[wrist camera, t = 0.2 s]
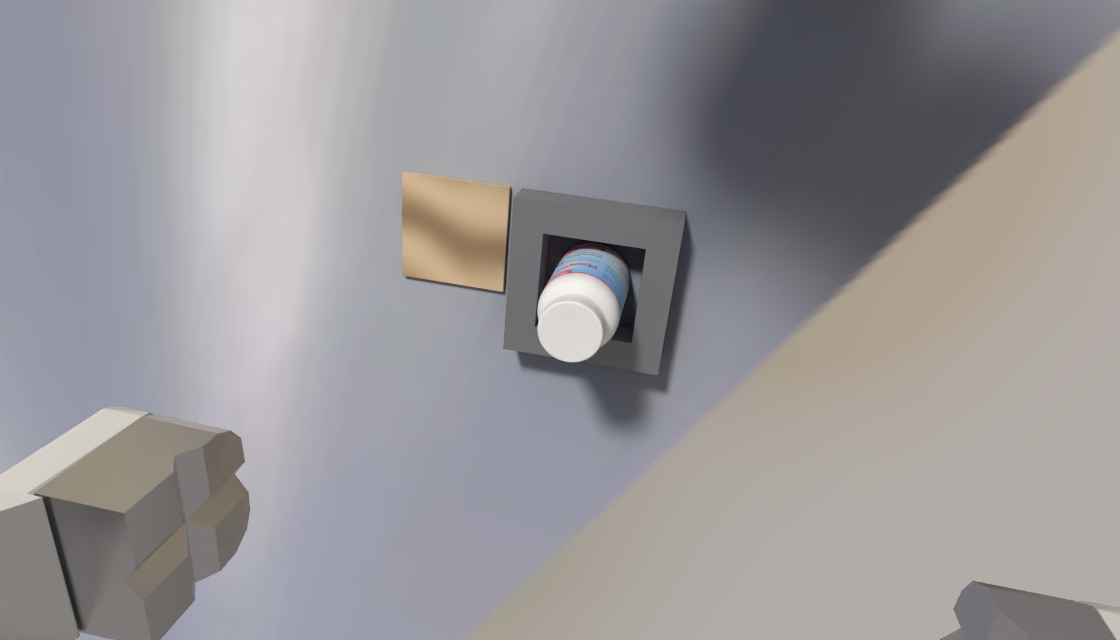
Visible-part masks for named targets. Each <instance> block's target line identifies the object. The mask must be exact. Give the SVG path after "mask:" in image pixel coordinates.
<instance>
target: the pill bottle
mask: <svg viewBox="0 0 1120 640" xmlns="http://www.w3.org/2000/svg"><path fill="white" fill-rule="evenodd" d="M629 285H630V275H629V271H628V268H627V266H626V264H625V262H624V261H623V259H622V258H621V257H620V256H619V255H618V254H617V253H616V252H615V251H614V250H612V249H611V248H609V247H607V246H605V245H602V244H598V243H585V244H581V245H578V246H576V247H574V248H572V249H571V250H569V251H568V252H567V253H566V254H565V255H564V256H563V258H562V259H561V261H560V262H559V264H558V266H557V268H556V269H555V271H554V273H553V274H552V276H551V278H550V280H549V281H548V283H547V285H546V287H545V288H544V290H543V292H542V294H541V296H540V299H539V302H538V309H537V313H538V320H539V322H538V337H539V340H540V343H541V344H542V346H543V348H544V349H545V350H546V351H547V352H548V353H549V354H550V355H552V356H553V357H555V358H556V359H559V360H561V361H565V362H580V361H584V360H586V359H588V358H590V357H591V356H593V355H594V354H595V353H596V352H597V351H598V349H599V348H600V347H602V346H603V345H604V344H606V343H607V342H608V341H609V340H610V339H611V338H612V336H613V335H614V333H615V331H616V329H617V327H618V324H619V320H620V317H621V314H622V310H623V307H624V303H625V300H626V297H627V293H628V290H629Z"/></svg>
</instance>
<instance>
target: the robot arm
mask: <svg viewBox="0 0 1120 640" xmlns="http://www.w3.org/2000/svg"><path fill="white" fill-rule="evenodd" d="M244 462H245V460H244V454H243V448H242V441H241V438H240V437H239V436H237V435H236V434H235V433H233V432H232V431H230V430H226V429H221V428H217V427H212V426H208V425H204V424H199V423H195V422H190V421H186V420H182V419H177V418H173V417H168V416H164V415H160V414H152V413H148V412H144V411H139V410H135V409H130V408H126V407H121V406H119V407H111V408H103V409H102V410H100V411H99V412H97V413H96V414H94V415H93V416H91V417H89V418H88V419H86V420H85V421H83V422H82V423H80V424H79V425H77V426H75V427H74V428H72V429H71V430H69V431H68V432H66V433H65V434H63V435H61V436H60V437H58V438H57V439H55V440H54V441H52V442H51V443H49V444H47V445H46V446H44V447H43V448H41V449H40V450H38V451H37V452H35V453H33V454H32V455H30V456H29V457H27V458H26V459H24V460H23V461H21V462H19V463H18V464H16V465H15V466H13V467H12V468H10V469H9V470H7V471H5V472H4V473H2V474H1V475H0V640H75V639H76V638H78V637H79V636H80V634H79V632H82V633H86V634H91V635H96V636H100V637H105V638H109V639H114V640H160V639H161V638H162V637H163V636H164V635H165V634H166V632H167V631H168V630H169V629H170V628H171V627H172V626H173V624H174V623H175V622H176V621H177V620H178V619H179V618H180V617H181V615H182V614H183V613H184V612H185V611H186V610H187V609H188V607H189V606H190V605H191V604H192V603H193V602H194V601H195V582H198V581H200V580H202V579H204V578H206V577H208V576H210V575H213V574H215V573H217V572H219V571H221V570H222V568H223V567H224V566H225V565H226V564H227V562H228V561H229V560H230V559H231V558H232V556H233V555H234V554H235V553H236V551H237V549H238V547H239V545H240V543H241V540H242V538H243V536H244V534H245V532H246V530H247V525H248V519H249V512H250V504H249V494H248V491H247V490H246V488H245V487H244V486H243V484H242V483H241V482H240V480H239V479H238V478H237V477H236V475H235V473H236V472H237V471H238V469H239V468H240V467H241V466H242V464H243V463H244ZM954 611H955V614H956V616H957V618H958V621H959V623H960V626H961V628H960V629H959V630H957V631H955V632H953V633H951V634H949V635H947V636H946V637H944V638H942V639H940V640H1120V608H1118V607H1113V606H1107V605H1102V604H1096V603H1091V602H1085V601H1080V602H1076V601H1072V600H1067V599H1062V598H1056V597H1052V596H1047V595H1042V594H1037V593H1031V592H1027V591H1021V590H1016V589H1011V588H1006V587H1001V586H996V585H991V584H986V583H981V582H976V581H972V582H971V583H970V584H969V585H968V586H967V587H966V588H964V589H963V590H962V592H961V594H960V596H959V598H958V600H957V602H956V605H955V607H954Z"/></svg>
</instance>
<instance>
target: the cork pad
mask: <svg viewBox="0 0 1120 640" xmlns="http://www.w3.org/2000/svg"><path fill="white" fill-rule="evenodd" d="M510 192H511V187H509V186H502V185H495V184H488V183H481V182H474V181H467V180H460V179H453V178H446V177H439V176H432V175H425V174H418V173H411V172H403V276H409V277H415V278H421V279H427V280H434V281H440V282H446V283H452V284H458V285H464V286H470V287H476V288H483V289H489V290H495V291H501V292H503V291H504V283H505V268H506V253H507V238H508V223H509V207H510Z"/></svg>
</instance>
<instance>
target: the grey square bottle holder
mask: <svg viewBox="0 0 1120 640" xmlns="http://www.w3.org/2000/svg"><path fill="white" fill-rule="evenodd" d="M685 214H686V212H685V211H678V210H671V209H664V208H657V207H650V206H643V205H636V204H629V203H622V202H615V201H608V200H601V199H594V198H587V197H579V196H572V195H565V194H558V193H551V192H544V191H537V190H530V189H522V190H521V191H520V192H519V193H518V194H517V195H516V196H515V197H514V201H513V215H512V230H511V245H510V259H509V274H508V289H507V303H506V318H505V333H504V347H503V349H508V350H514V351H520V352H525V353H531V354H537V355H542V356H548V357H553V356H552V355H550V354H549V353H548V352H547V351H546V350H545V349H544V348H543V346H542V344H541V343H540V340H539V337H538V322H539V320H538V313H537V309H538V302H539V299H540V296H541V294H542V292H543V290H544V288H545V279H546V268H547V258H548V247H549V236H550V235H556V236H562V237H569V238H576V239H582V240H589V241H596V242H602V243H609V244H615V245H622V246H629V247H635V248H642V249H646V253H645V259H644V266H643V272H642V279H641V285H640V291H639V298H638V304H637V311H636V317H635V324H634V328H632V327H626V326H620V325H618V327H617V329H616V331H615V333H614V335H613V336H612V338H611V339H610V340H609V341H608V342H607V343H606V344H604V345H603V346H602V347H600V348H599V349H598V351H597V352H596V353H595V354H594V355H593V356H591V357H590V358H588V359H586V360H584V361H580V362H583V363H588V364H594V365H600V366H606V367H611V368H617V369H623V370H629V371H634V372H640V373H646V374H652V375H657V376H658V371H659V365H660V360H661V354H662V348H663V343H664V337H665V331H666V326H667V320H668V314H669V309H670V303H671V297H672V292H673V286H674V280H675V275H676V269H677V263H678V258H679V252H680V246H681V241H682V235H683V229H684V224H685ZM554 358H555V357H554Z"/></svg>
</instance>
